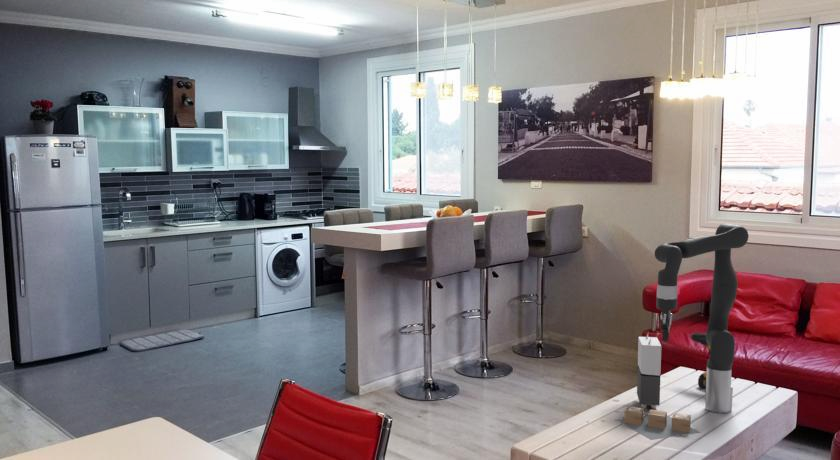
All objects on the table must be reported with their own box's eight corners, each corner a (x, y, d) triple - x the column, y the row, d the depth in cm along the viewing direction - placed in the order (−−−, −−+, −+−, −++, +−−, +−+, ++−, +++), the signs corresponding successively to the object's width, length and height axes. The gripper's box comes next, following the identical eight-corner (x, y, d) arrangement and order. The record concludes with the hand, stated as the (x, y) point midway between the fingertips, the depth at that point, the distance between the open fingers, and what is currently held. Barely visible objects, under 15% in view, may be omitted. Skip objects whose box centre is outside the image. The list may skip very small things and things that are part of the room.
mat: (662, 414, 289) (662, 413, 289) (701, 434, 268) (701, 432, 268) (615, 421, 281) (615, 419, 281) (650, 441, 261) (651, 439, 261)
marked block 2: (673, 425, 275) (673, 412, 274) (690, 428, 272) (690, 414, 272) (671, 430, 270) (671, 417, 269) (688, 433, 267) (689, 419, 266)
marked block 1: (627, 418, 282) (627, 405, 282) (643, 421, 280) (643, 407, 279) (624, 423, 277) (625, 410, 276) (640, 426, 274) (641, 412, 274)
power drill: (692, 379, 336) (694, 326, 334) (733, 391, 318) (735, 335, 316) (681, 382, 332) (683, 328, 330) (722, 394, 314) (724, 338, 312)
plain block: (650, 422, 279) (650, 409, 278) (666, 424, 276) (667, 411, 276) (647, 427, 273) (648, 414, 273) (664, 429, 271) (664, 416, 270)
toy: (659, 412, 291) (661, 338, 289) (640, 411, 293) (642, 337, 290) (655, 400, 306) (657, 330, 303) (636, 399, 307) (638, 329, 305)
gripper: (659, 293, 287) (657, 336, 289) (654, 298, 275) (652, 343, 277) (679, 294, 284) (677, 338, 285) (675, 300, 272) (673, 345, 274)
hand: (665, 340), depth 281 cm, fingers closed
